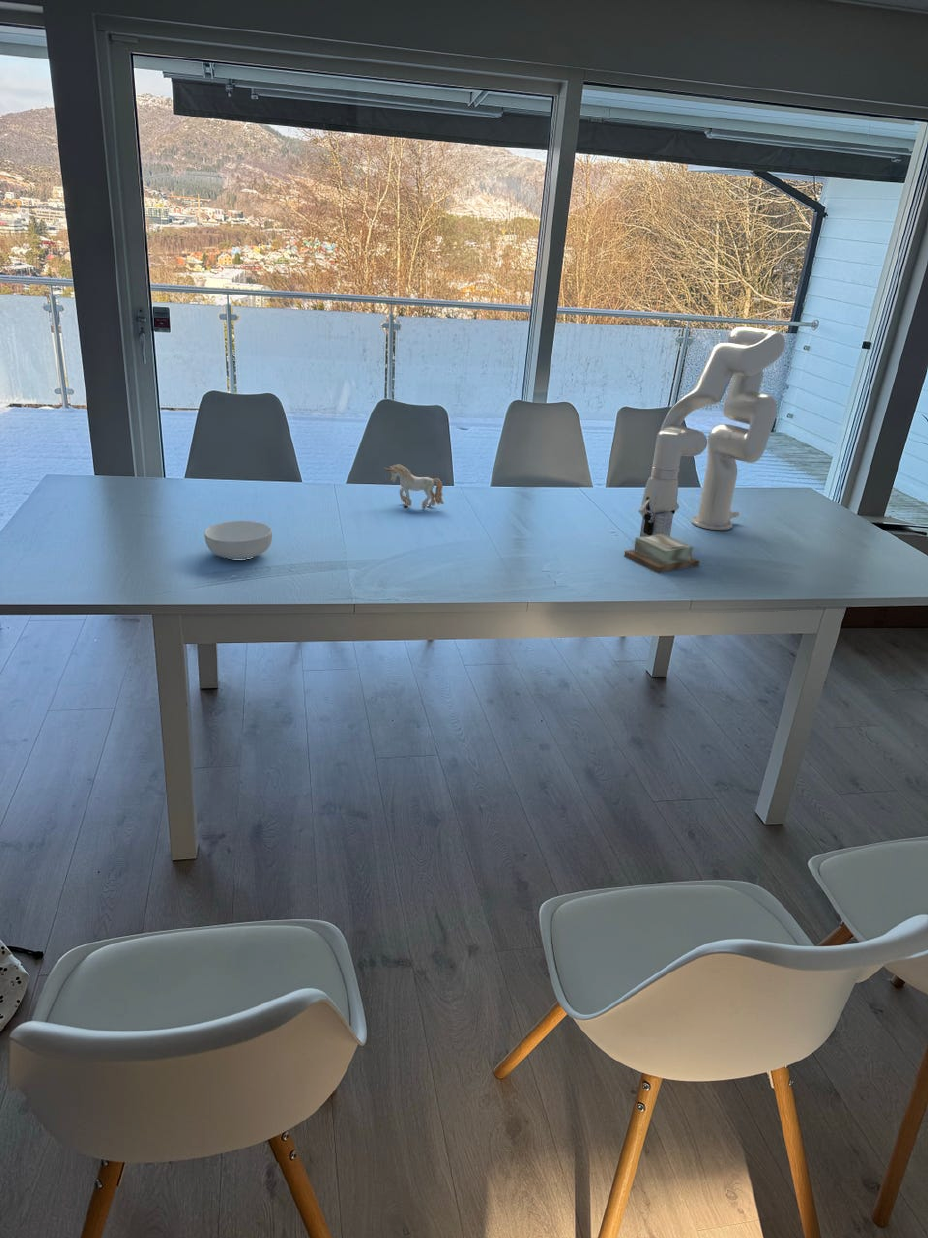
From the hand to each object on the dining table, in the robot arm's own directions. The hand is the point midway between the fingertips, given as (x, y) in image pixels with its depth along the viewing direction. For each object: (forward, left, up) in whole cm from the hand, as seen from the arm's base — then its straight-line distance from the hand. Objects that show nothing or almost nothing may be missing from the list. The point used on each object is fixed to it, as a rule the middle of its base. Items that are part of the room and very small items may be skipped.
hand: (655, 532), depth 264 cm
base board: (+12, +16, -2) cm, 19 cm away
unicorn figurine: (+55, -51, -2) cm, 75 cm away
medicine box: (0, 0, -2) cm, 2 cm away
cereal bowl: (+117, -30, -2) cm, 121 cm away
